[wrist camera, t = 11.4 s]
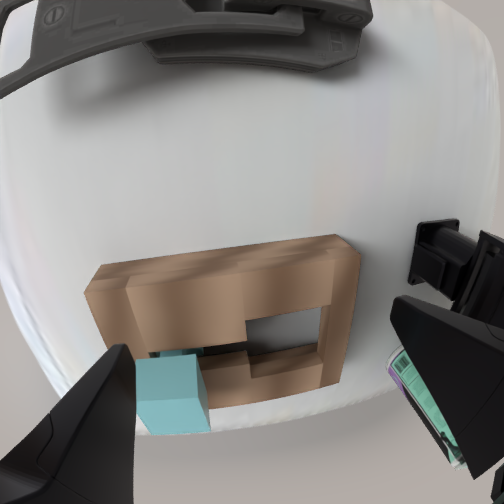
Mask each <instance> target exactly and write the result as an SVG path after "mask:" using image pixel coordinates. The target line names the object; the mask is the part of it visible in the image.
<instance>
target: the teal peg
mask: <svg viewBox="0 0 504 504" xmlns="http://www.w3.org/2000/svg"><path fill="white" fill-rule="evenodd" d="M155 353H156V355H157V358H149V359H136V362H135V364H136V402H137V410H136V413H137V414H138V416H139V417H140V419H141V420H142V422H143V423H144V425H145V426H146V428H147V429H148V430H149V432H150V433H151V435H164V434H185V433H198V432H208V431H211V427H210V419H209V409H208V399H207V391H206V387H205V384H204V381H203V377H202V374H201V371H200V367H199V364H198V360H197V356H198V355H204V350H203V347H199V348H190V349H181V350H171V351H160V352H155Z"/></svg>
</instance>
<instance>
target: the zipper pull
mask: <svg viewBox="0 0 504 504" xmlns="http://www.w3.org/2000/svg"><path fill="white" fill-rule="evenodd" d="M31 1H33V0H1V1H0V43H1V37H2V32H3V28H4V25H5V23H6V21H7V18H8V16H9V14H10V13H11V12H12V11H13V10H14V9H16V8H18V7H20V6H22V5H25V4H27V3H29V2H31ZM372 18H373V12H372V8H371V3H370V0H39V2H38V6H37V11H36V16H35V22H34V28H33V35H32V43H31V53H30V58H29V59H28V60H27V62H26V63H25V64H24V65H23V66H22V67H21V68H20V69H18V70H16V71H14V72H12V73H10V74H8V75H6V76H4V77H2V78H0V99H2V98H3V97H5V96H7V95H8V94H10V93H12V92H14V91H16V90H17V89H19V88H21V87H23V86H25V85H27V84H28V83H30V82H32V81H34V80H36V79H37V78H39V77H42V76H44V75H46V74H48V73H50V72H52V71H55V70H57V69H59V68H62V67H64V66H66V65H69V64H72V63H74V62H77V61H79V60H82V59H85V58H88V57H91V56H93V55H96V54H100V53H103V52H106V51H109V50H113V49H116V48H120V47H123V46H127V45H131V44H135V43H139V42H142V43H143V44H144V45H145V46H146V48H147V49H148V50H149V51H150V53H151V54H152V55H153V56H154V58H155V59H156V60H157V61H158V63H160V64H178V63H236V64H252V65H264V66H273V67H280V68H287V69H293V70H299V71H305V72H311V73H312V72H316V71H319V70H322V69H325V68H328V67H332V66H335V65H338V64H341V63H344V62H346V61H349V60H351V59H354V58H355V57H356V55H357V51H358V46H359V41H360V37H361V32H362V29H363V28H364V27H365V26H366V25H367V24H368V23H370V22H371V21H372Z"/></svg>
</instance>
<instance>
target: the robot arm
mask: <svg viewBox="0 0 504 504" xmlns="http://www.w3.org/2000/svg"><path fill="white" fill-rule="evenodd" d="M459 223H460V222H459V220H458V219H446V220H437V221H428V222H421V223H419V224H418V226H417V232H416V239H415V245H414V251H413V257H412V262H411V268H410V273H409V277H408V283H409V284H410V285H416V284H420V283H423V282H427V283H428V284H429V285H430V286H432V287H433V288H434V289H436V290H437V291H440V292H441V293H442V294H443V295H445V296H446V297H447V298H448V299H450V300H451V301H454V303H453V305H452V307H451V309H450V310H447V309H444V308H441V307H438V306H436V305H433V304H430V303H427V302H424V301H421V300H419V299H416V298H413V297H410V296H407V295H402V296H398V297H396V298H395V299H394V301H393V306H392V310H391V314H390V321H391V323H392V325H393V327H394V329H395V331H396V333H397V335H398V337H399V339H400V341H401V343H402V345H403V347H404V349H405V351H406V353H407V355H408V357H409V359H410V360H411V362H412V363H413V365H414V367H415V368H416V370H417V372H418V373H419V375H420V377H421V378H422V380H423V382H424V384H425V385H426V387H427V389H428V391H429V392H430V394H431V396H432V398H433V399H434V401H435V403H436V405H437V407H438V408H439V410H440V412H441V414H442V416H443V418H444V420H445V421H446V423H447V425H448V427H449V429H450V431H451V433H452V435H453V437H454V439H455V441H456V443H457V445H458V447H459V449H460V452H461V454H462V456H463V458H464V460H465V462H466V464H467V467H468V469H469V471H470V473H471V476H472V477H473V479H474V480H475V479H476V478H478V477H479V476H480V475H482V474H483V473H484V472H485V471H487V470H488V469H490V468H491V467H492V466H493V465H495V464H496V463H497V462H498V461H499V460H501V459H502V458H503V457H504V239H502V238H500V237H498V236H495V235H493V234H490V233H488V232H485V231H483V230H481V231H480V234H479V236H480V237H479V240H478V242H476V241H474V240H472V239H470V238H469V237H467V236H465V235H463V234H461V233H459V232H458V230H459ZM136 410H137V402H136V364H135V361H134V359H133V357H132V354H131V352H130V350H129V348H128V346H127V344H125V343H120V344H113V345H112V346H111V347H110V348H109V349H108V350H107V351H106V352H105V353H104V354H103V356H102V357H101V358H100V359H99V360H98V361H97V362H96V363H95V364H94V365H93V366H92V367H91V368H90V369H89V370H88V371H87V372H86V373H85V374H84V375H83V376H82V377H81V378H80V380H79V381H78V382H77V383H76V384H75V385H74V386H73V387H72V388H71V389H70V390H69V391H68V392H67V393H66V394H65V396H64V397H63V398H62V399H61V400H60V401H59V402H58V403H57V404H56V405H55V406H54V408H53V409H52V410H51V411H50V413H48V414H47V415H46V416H45V417H44V418H43V419H42V421H41V422H40V423H39V424H38V425H37V426H36V427H35V428H34V429H33V430H32V431H31V432H30V433H29V434H28V435H27V436H26V437H25V438H24V439H23V440H22V441H21V442H20V443H19V444H18V445H16V446H15V447H14V448H13V449H12V450H11V451H10V452H9V453H8V454H7V455H6V456H5V457H4V458H2V459H1V460H0V504H134V503H133V467H134V466H133V465H134V440H135V425H136ZM491 499H492V500H493V504H504V463H503V464H502V465H501V466H500V467H499V469H497V470H496V472H495V477H494V483H493V488H492V493H491Z"/></svg>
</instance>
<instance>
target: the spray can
mask: <svg viewBox="0 0 504 504" xmlns="http://www.w3.org/2000/svg"><path fill="white" fill-rule="evenodd" d="M386 370H387V371H388V373H389V374H390V376H391V377H392V378H393V380H394V381H395V383H396V384H397V385H398V387H399V388H400V390H401V391H402V392H403V394H404V395H405V397H406V398H407V400H408V401H409V402H410V404H411V405H412V407H413V408H414V410H415V411H416V413H417V414H418V416H419V417H420V418H421V420H422V421H423V423H424V424H425V426H426V427H427V429H428V430H429V432H430V433H431V434H432V436H433V438H434V439H435V441H436V442H437V444H438V445H439V447H440V448H441V450H442V451H443V453H444V455H445V456H446V458H447V459H448V461H449V462H450V464H451V466H454V467H455V470H457V469H462V468H468V467H467V464H466V462H465V460H464V458H463V456H462V454H461V452H460V449H459V447H458V445H457V443H456V441H455V439H454V437H453V435H452V433H451V431H450V429H449V427H448V425H447V423H446V421H445V420H444V418H443V416H442V414H441V412H440V410H439V408H438V407H437V405H436V403H435V401H434V399H433V398H432V396H431V394H430V392H429V391H428V389H427V387H426V385H425V384H424V382H423V380H422V378H421V377H420V375H419V373H418V372H417V370H416V368H415V367H414V365H413V363H412V362H411V360H410V359H409V357H408V355H407V353H406V351H405V349H404V347H403V345H401V346H400V347H398V348H397V349H396V350H395V351H394V352H393V353H392V355H391V356H390V357H389V359H388V361H387V363H386Z"/></svg>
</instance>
